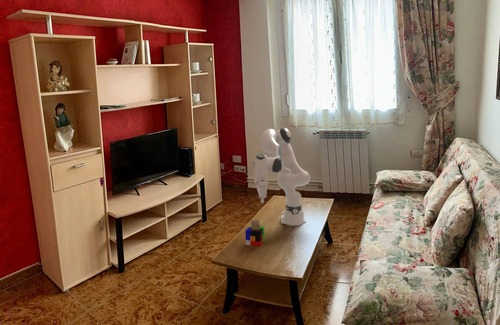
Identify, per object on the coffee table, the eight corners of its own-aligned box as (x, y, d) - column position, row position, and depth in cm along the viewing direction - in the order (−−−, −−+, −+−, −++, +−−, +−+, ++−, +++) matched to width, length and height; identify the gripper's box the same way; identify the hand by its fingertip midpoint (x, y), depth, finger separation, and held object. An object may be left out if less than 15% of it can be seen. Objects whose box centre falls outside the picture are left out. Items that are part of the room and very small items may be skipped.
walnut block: (251, 227, 278) (251, 220, 277) (258, 227, 279) (258, 220, 278) (252, 230, 273) (251, 223, 272) (259, 229, 274) (259, 222, 273)
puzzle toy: (245, 244, 275) (245, 230, 273) (250, 238, 284) (250, 225, 282) (260, 246, 272) (259, 232, 270) (264, 240, 281) (264, 226, 279)
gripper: (254, 175, 278) (254, 195, 282) (258, 184, 259) (258, 205, 262) (263, 175, 279) (263, 194, 282) (268, 184, 259) (268, 205, 263)
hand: (261, 200), depth 272 cm, fingers open, 8 cm apart
